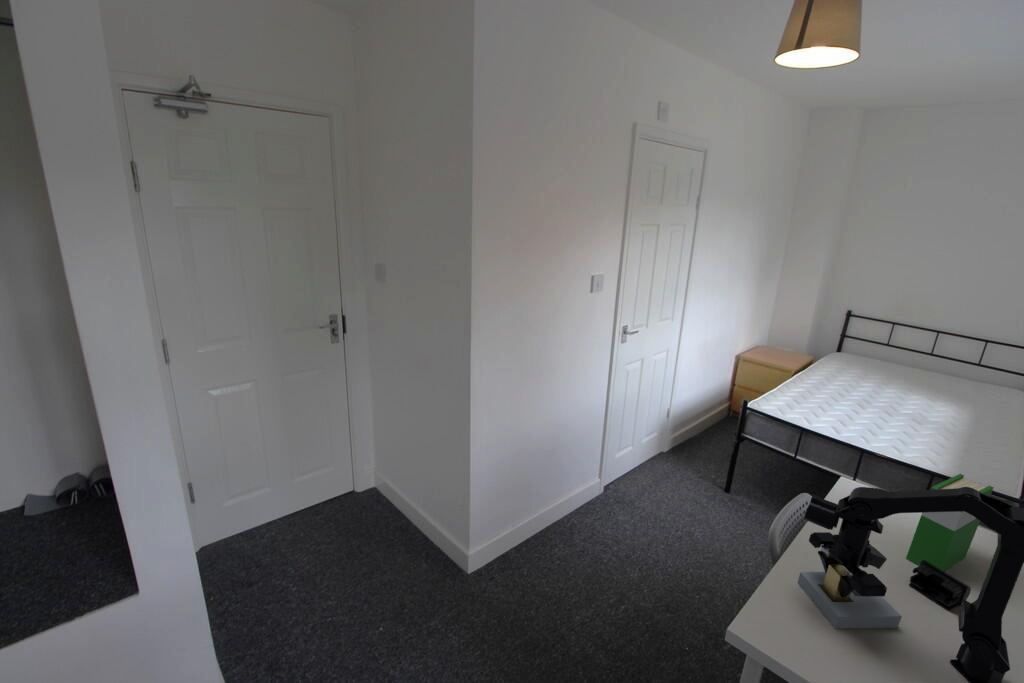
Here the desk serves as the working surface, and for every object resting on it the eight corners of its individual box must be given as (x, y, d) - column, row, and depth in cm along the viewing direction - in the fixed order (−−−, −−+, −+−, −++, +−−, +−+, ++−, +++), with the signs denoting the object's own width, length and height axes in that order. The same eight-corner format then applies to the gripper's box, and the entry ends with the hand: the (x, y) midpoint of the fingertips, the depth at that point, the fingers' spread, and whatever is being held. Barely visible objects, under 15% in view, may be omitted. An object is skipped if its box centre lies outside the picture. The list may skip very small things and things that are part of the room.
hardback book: (934, 541, 145) (960, 473, 138) (965, 557, 139) (993, 487, 132) (905, 558, 137) (931, 487, 130) (936, 576, 131) (965, 502, 124)
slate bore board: (897, 627, 113) (901, 616, 112) (834, 628, 112) (838, 616, 111) (853, 582, 127) (857, 571, 126) (797, 582, 126) (800, 571, 125)
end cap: (965, 605, 121) (974, 583, 119) (950, 613, 119) (959, 591, 117) (920, 577, 130) (928, 557, 128) (905, 584, 127) (913, 563, 125)
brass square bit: (846, 605, 117) (856, 576, 114) (831, 606, 117) (840, 576, 114) (835, 593, 121) (844, 564, 118) (820, 593, 121) (829, 564, 118)
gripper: (918, 566, 105) (898, 621, 110) (855, 513, 123) (840, 562, 127) (871, 566, 104) (852, 621, 109) (814, 513, 122) (800, 562, 127)
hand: (836, 589), depth 118 cm, fingers closed on brass square bit, 4 cm apart
